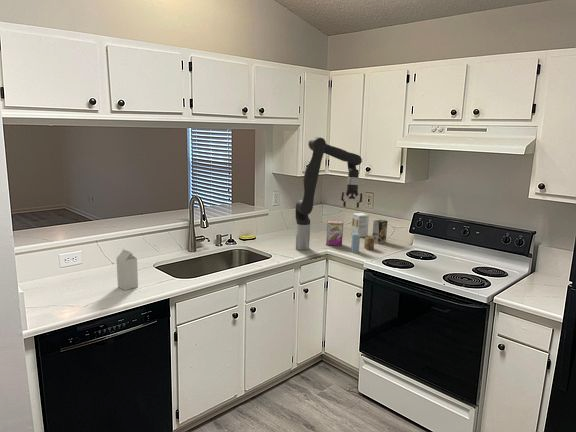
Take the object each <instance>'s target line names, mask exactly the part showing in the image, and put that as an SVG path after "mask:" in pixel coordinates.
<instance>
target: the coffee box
mask: <svg viewBox="0 0 576 432" xmlns="http://www.w3.org/2000/svg"><path fill="white" fill-rule="evenodd" d="M372 224H373V225H372V234H371V235H372V236H371V237H373V238H375V240H374V244H378V245H380V244H385V243H386V242H387V236H388V235H387V233H388V220H385V219H378V220H373V223H372Z"/></svg>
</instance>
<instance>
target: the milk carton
mask: <svg viewBox="0 0 576 432" xmlns="http://www.w3.org/2000/svg"><path fill="white" fill-rule="evenodd" d="M116 272H117V273H116V276H117V280H116V281H117V288H120V289H122V291H127V290H131V289H134V288H138V287H139V278H138V258H137V257H136V256H134V253H133V252H132V251H130V250H127V249H125V248H122V251H121V252H120V253H119V254H118V256H117V257H116Z"/></svg>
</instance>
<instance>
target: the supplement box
mask: <svg viewBox="0 0 576 432" xmlns="http://www.w3.org/2000/svg"><path fill="white" fill-rule="evenodd" d="M369 217H370V215H369V214H367V213H363V212H355V213H352V218H351V233H350V234H351V235H352V233H355V234H359V235H360V238H362V237H363V238H365V237H368V235H369V234H368V232H369Z"/></svg>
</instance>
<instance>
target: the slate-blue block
mask: <svg viewBox="0 0 576 432" xmlns="http://www.w3.org/2000/svg"><path fill="white" fill-rule="evenodd" d="M360 240H361V237H360V235H359V234H355V233H352V234H351V248H350V249H351V250H350V251H351V253H352V252H353V254H355V253H356V254H357V253H358V254H360V242H361V241H360Z"/></svg>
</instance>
